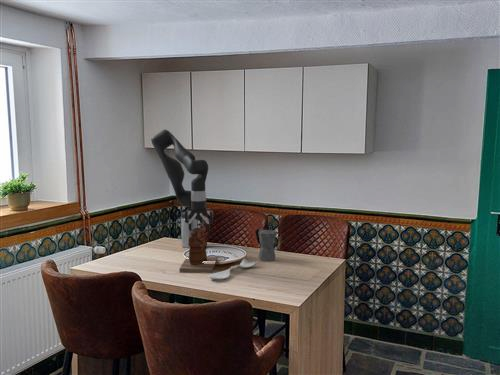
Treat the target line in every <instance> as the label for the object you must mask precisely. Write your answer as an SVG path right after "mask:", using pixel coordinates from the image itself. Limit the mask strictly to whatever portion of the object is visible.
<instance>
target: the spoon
mask: <svg viewBox="0 0 500 375" xmlns="http://www.w3.org/2000/svg"><path fill="white" fill-rule="evenodd" d="M258 263H259V261H250V260H248V259H246V258H243V259H242V261H241V262H240V264H236V265H232V266H230V267H229V268H227V269H226V270H222V271H218V272H215V273H211V274H209V275H208V278H209V279H211V280H219V281H220V280H224V279H227V278H229V277H230V276H231V271H232V270H236V269H237V268H241V269H248V268H252V267H253V266H256V265H257V264H258Z"/></svg>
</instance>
